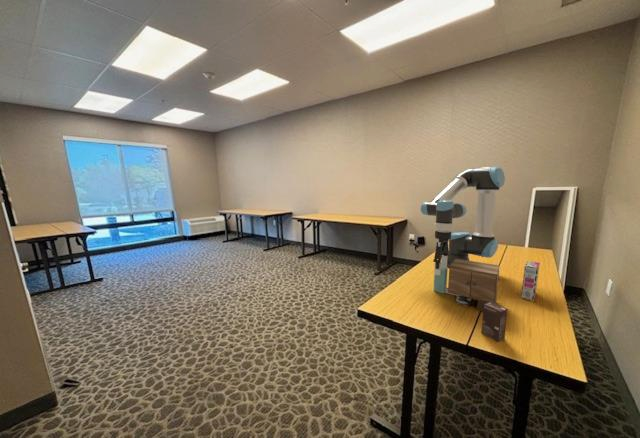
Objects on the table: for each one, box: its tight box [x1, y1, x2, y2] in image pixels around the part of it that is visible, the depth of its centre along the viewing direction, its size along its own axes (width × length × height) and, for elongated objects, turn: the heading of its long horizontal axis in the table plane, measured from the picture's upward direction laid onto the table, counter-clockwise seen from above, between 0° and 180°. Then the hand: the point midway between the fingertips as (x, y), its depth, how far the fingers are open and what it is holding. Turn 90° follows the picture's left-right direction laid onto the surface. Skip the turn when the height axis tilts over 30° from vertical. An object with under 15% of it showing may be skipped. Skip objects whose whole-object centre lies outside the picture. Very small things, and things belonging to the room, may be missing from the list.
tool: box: [433, 267, 475, 301], centre depth 123 cm, size 5×18×12 cm, turn 51°
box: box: [481, 302, 509, 343], centre depth 88 cm, size 6×4×12 cm
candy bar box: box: [520, 260, 541, 302], centre depth 119 cm, size 11×5×16 cm, turn 135°
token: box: [455, 296, 472, 307], centre depth 114 cm, size 6×6×2 cm
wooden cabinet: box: [447, 259, 500, 313], centre depth 113 cm, size 15×18×18 cm
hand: (440, 271), depth 126 cm, fingers open, 13 cm apart
